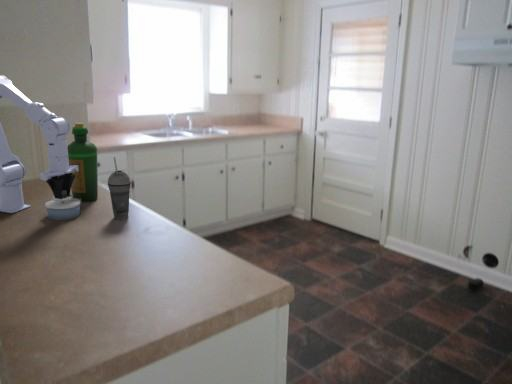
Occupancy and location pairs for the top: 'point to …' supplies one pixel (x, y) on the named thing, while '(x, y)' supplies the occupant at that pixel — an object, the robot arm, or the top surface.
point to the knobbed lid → (63, 196)
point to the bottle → (83, 165)
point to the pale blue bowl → (63, 209)
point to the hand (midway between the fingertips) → (62, 197)
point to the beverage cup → (119, 193)
